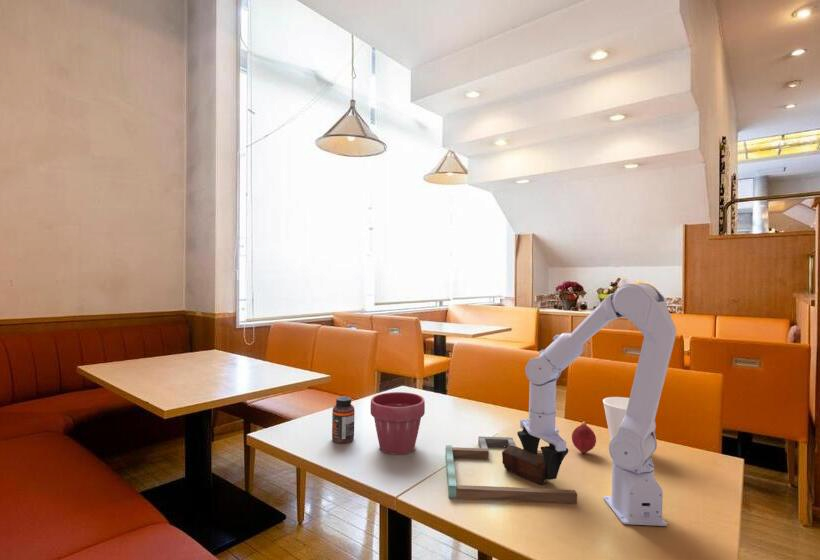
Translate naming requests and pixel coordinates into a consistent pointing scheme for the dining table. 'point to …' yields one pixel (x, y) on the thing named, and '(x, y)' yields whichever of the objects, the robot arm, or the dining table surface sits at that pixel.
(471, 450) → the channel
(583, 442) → the onion
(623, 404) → the cup
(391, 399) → the plant pot
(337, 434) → the supplement bottle
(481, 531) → the dining table surface
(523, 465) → the brick
